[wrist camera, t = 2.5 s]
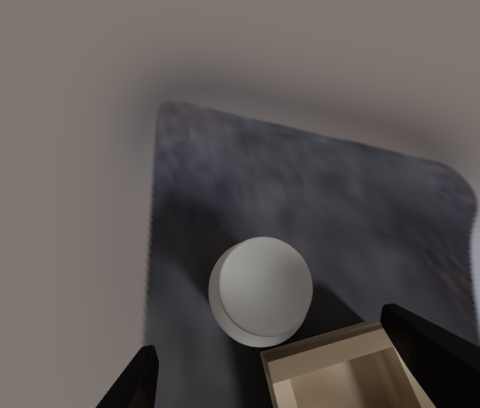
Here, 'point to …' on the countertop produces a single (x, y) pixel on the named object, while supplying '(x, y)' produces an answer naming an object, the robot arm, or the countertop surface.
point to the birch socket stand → (342, 372)
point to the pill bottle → (260, 291)
